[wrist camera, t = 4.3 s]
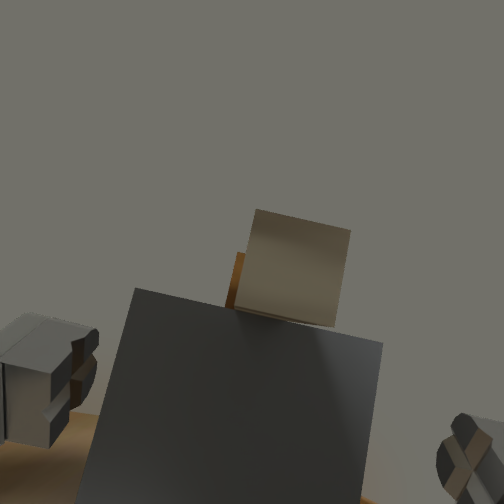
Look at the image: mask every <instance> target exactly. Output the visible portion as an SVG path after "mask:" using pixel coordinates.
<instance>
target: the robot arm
mask: <svg viewBox="0 0 504 504" xmlns="http://www.w3.org/2000/svg"><path fill="white" fill-rule="evenodd" d="M98 345H99V332H98V330H97V329H96V328H92V327H88V326H84V325H80V324H77V323H72V322H69V321H65V320H61V319H57V318H51V317H48V316H44V315H40V314H35V313H24V314H22V315H21V316H20V317H18V318H17V319H16V320H14V321H13V322H11V323H10V324H9V325H7V326H6V327H5V328H3V329H2V330H0V446H1V445H3V444H4V443H5V441H9V442H14V443H20V444H25V445H30V446H35V447H40V448H45V449H50V447H51V446H52V445H53V443H54V442H55V440H56V439H57V438H58V436H59V435H60V433H61V432H62V431H63V429H64V428H65V427H66V425H67V424H68V422H69V411H70V410H72V409H74V408H76V407H78V406H80V405H81V404H82V403H83V401H84V399H85V398H86V397H87V395H88V393H89V391H90V389H91V387H92V384H93V382H94V379H95V374H96V370H97V361H96V359H95V357H94V356H93V354H92V353H93V351H94V350H95V349H96V348H97V346H98ZM451 429H452V433H453V435H452V436H450V437H448V438H447V439H445V440H443V441H442V443H441V445H440V447H439V449H438V451H437V459H436V468H437V472H438V476H439V479H440V481H441V484H442V486H443V488H444V489H445V490H446V491H447V492H448V493H449V494H450V495H451V496H452V497H453V498H454V499H455V504H504V422H500V421H495V420H491V419H487V418H482V417H478V416H473V415H468V414H465V413H461V414H459V415H458V416H456V417H455V419H454V421H453V422H452V424H451Z"/></svg>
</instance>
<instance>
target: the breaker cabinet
mask: <svg viewBox="0 0 504 504" xmlns="http://www.w3.org/2000/svg"><path fill="white" fill-rule="evenodd" d="M382 348H383V343H381V342H376V341H372V340H368V339H363V338H358V337H354V336H350V335H345V334H341V333H336V332H332V331H327V330H323V329H318V328H314V327H310V326H305V325H301V324H296V323H292V322H287V321H283V320H278V319H274V318H269V317H265V316H260V315H256V314H251V313H247V312H242V311H238V310H233V309H229V308H224V307H220V306H215V305H211V304H206V303H202V302H197V301H193V300H189V299H184V298H180V297H175V296H171V295H166V294H162V293H157V292H153V291H148V290H143V289H139V288H135V290H134V294H133V298H132V301H131V304H130V308H129V311H128V315H127V319H126V322H125V326H124V329H123V333H122V337H121V340H120V344H119V347H118V351H117V354H116V358H115V362H114V365H113V369H112V372H111V376H110V380H109V383H108V387H107V390H106V394H105V398H104V401H103V405H102V408H101V412H100V415H99V419H98V422H97V426H96V430H95V433H94V437H93V440H92V444H91V448H90V451H89V455H88V458H87V462H86V465H85V469H84V473H83V476H82V480H81V483H80V487H79V490H78V494H77V498H76V501H75V504H360V498H361V491H362V484H363V478H364V471H365V463H366V457H367V450H368V443H369V437H370V430H371V423H372V416H373V410H374V409H373V408H374V402H375V396H376V389H377V382H378V376H379V369H380V362H381V355H382Z"/></svg>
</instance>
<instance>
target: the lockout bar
mask: <svg viewBox="0 0 504 504" xmlns="http://www.w3.org/2000/svg"><path fill="white" fill-rule="evenodd" d="M350 233H351V230H348V229H344V228H339V227H334V226H330V225H325V224H321V223H317V222H312V221H308V220H303V219H299V218H295V217H290V216H286V215H281V214H277V213H272V212H268V211H264V210H259V209H256V210H255V215H254V220H253V224H252V228H251V233H250V237H249V242H248V246H247V250H246V254H245V253H240V252H237V256H236V261H235V265H234V269H233V274H232V278H231V282H230V287H229V291H228V295H227V300H226V304H225V308H229V309H233V310H238V311H242V312H247V313H251V314H256V315H260V316H265V317H269V318H274V319H278V320H283V321H289V322H297V323H304V324H312V325H319V326H326V327H334V326H335V320H336V314H337V308H338V303H339V296H340V291H341V285H342V279H343V273H344V268H345V262H346V256H347V250H348V245H349V239H350Z"/></svg>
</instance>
